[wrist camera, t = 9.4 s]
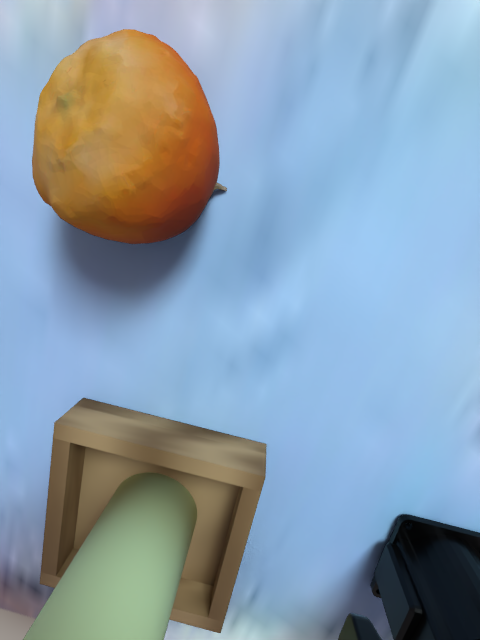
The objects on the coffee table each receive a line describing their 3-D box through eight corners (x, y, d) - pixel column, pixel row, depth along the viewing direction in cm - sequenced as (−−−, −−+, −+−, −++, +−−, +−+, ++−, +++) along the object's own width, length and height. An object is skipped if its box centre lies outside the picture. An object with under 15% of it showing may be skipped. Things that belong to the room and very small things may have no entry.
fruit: (179, 302, 18) (33, 253, 11) (118, 213, 21) (-25, 132, 14) (290, 188, 16) (199, 41, 9) (206, 109, 20) (90, -43, 13)
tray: (266, 444, 21) (265, 476, 19) (226, 586, 25) (220, 633, 22) (83, 397, 22) (54, 422, 19) (66, 543, 25) (39, 583, 22)
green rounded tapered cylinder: (204, 485, 21) (102, 843, 9) (189, 553, 23) (82, 945, 10) (118, 462, 22) (-100, 780, 9) (109, 532, 23) (-91, 888, 11)
